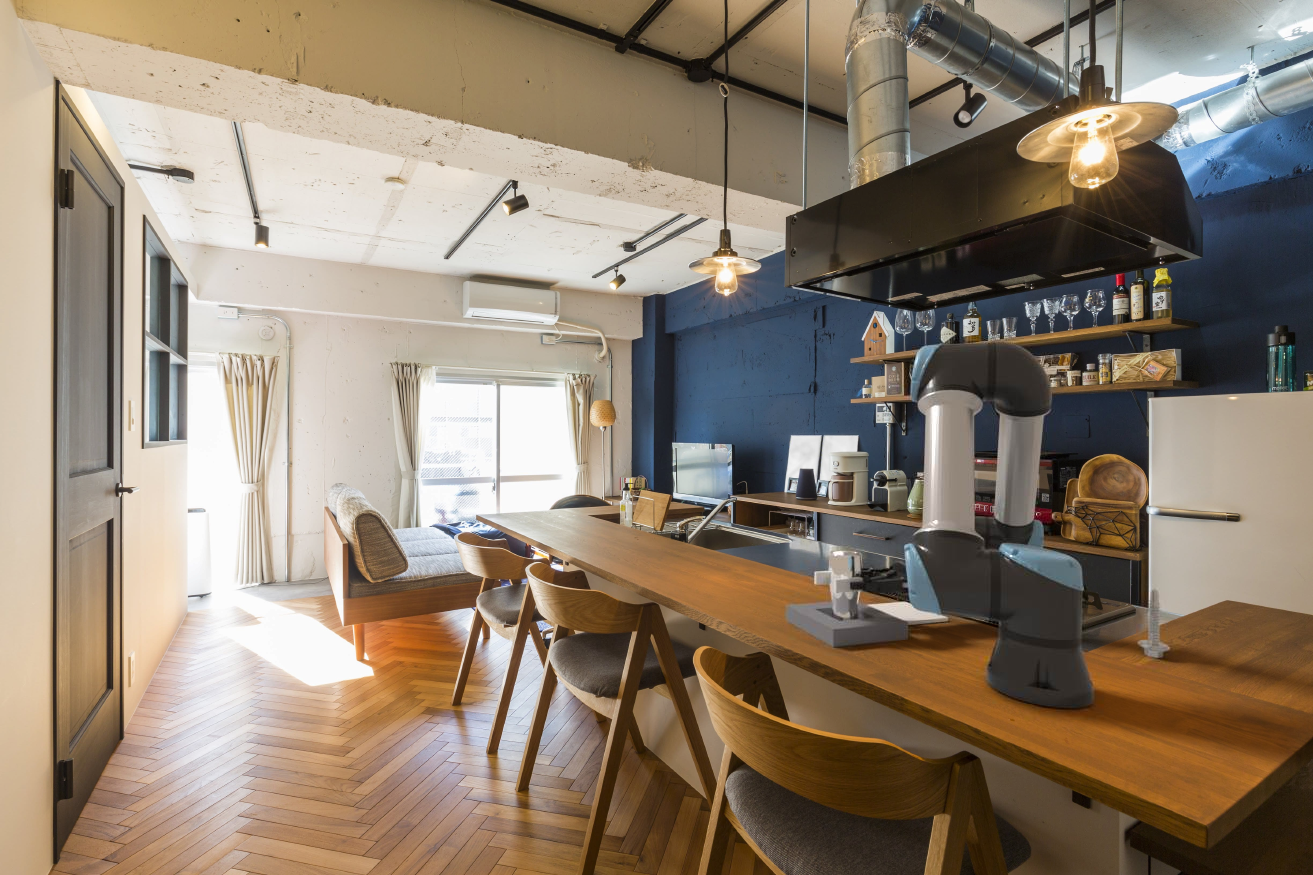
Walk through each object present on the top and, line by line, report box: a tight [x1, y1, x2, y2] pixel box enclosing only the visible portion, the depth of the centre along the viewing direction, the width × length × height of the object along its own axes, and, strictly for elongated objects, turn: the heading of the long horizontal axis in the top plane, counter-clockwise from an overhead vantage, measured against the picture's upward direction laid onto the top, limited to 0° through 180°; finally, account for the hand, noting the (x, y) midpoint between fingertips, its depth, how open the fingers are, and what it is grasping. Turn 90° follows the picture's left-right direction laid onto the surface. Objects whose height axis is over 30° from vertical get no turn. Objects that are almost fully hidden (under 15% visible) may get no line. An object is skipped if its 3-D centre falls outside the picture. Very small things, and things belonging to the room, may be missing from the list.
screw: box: [1137, 588, 1171, 659], centre depth 119 cm, size 13×5×5 cm
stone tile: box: [867, 601, 949, 626], centre depth 144 cm, size 14×14×1 cm
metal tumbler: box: [828, 549, 863, 621], centre depth 132 cm, size 7×7×15 cm
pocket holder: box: [785, 601, 909, 648], centre depth 132 cm, size 18×18×4 cm
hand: (825, 581), depth 130 cm, fingers closed on metal tumbler, 7 cm apart
